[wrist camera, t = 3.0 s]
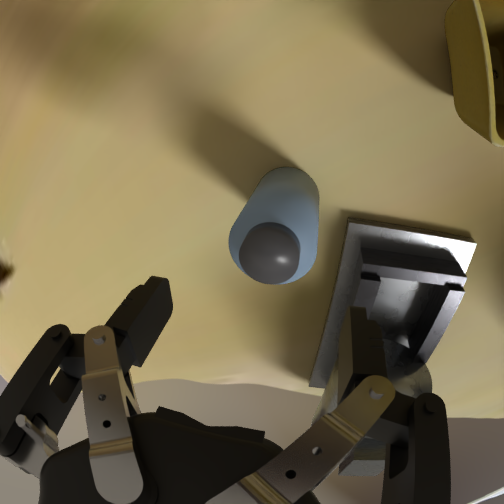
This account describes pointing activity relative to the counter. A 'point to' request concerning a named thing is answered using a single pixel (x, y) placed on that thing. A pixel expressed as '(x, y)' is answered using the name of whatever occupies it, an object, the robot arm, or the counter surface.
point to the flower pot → (478, 64)
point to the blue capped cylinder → (278, 228)
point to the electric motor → (392, 311)
